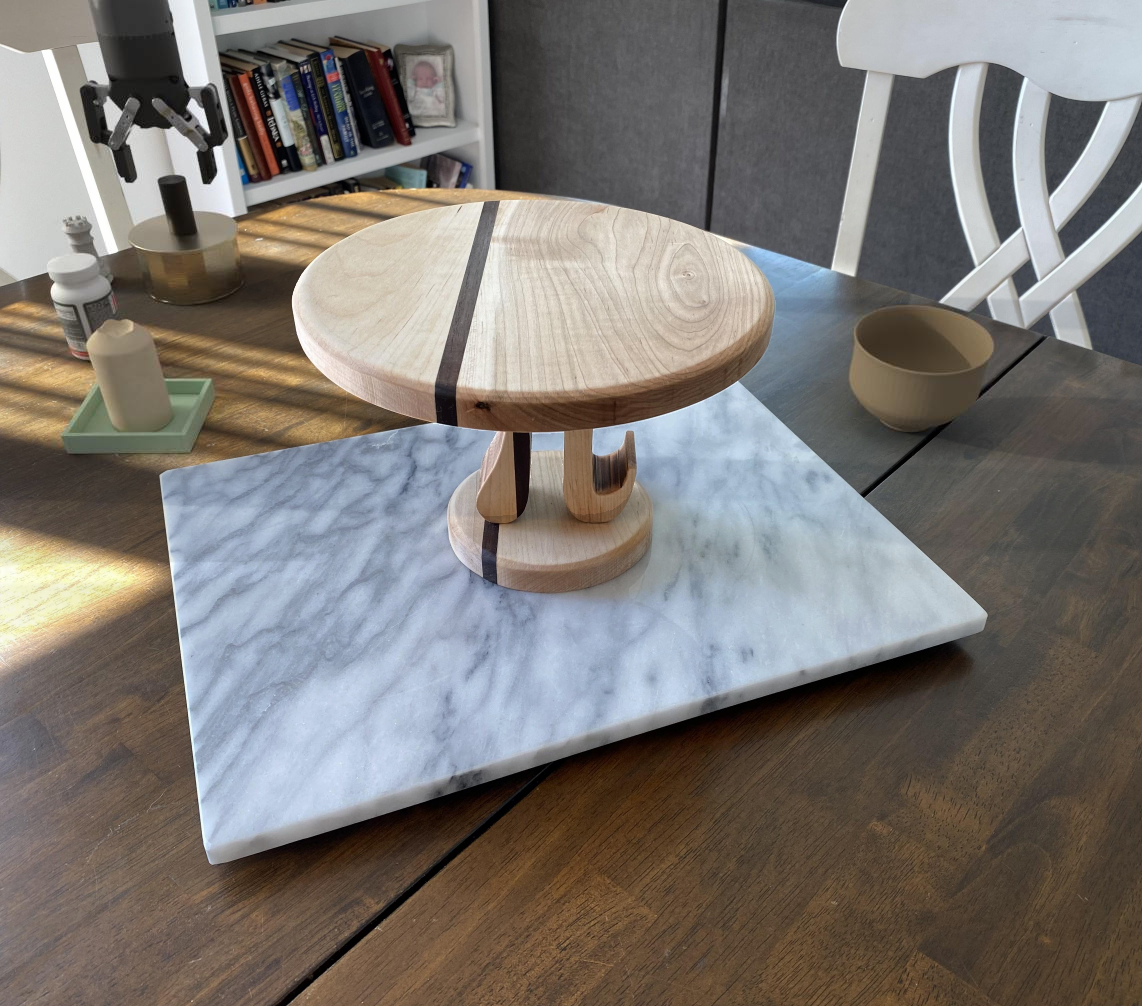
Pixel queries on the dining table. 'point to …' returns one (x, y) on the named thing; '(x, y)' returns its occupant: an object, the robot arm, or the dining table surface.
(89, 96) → the robot arm
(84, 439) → the tray
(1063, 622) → the dining table surface
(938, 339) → the bowl
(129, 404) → the candle
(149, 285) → the pot
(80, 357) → the pill bottle
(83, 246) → the rook chess piece
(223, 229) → the lid
